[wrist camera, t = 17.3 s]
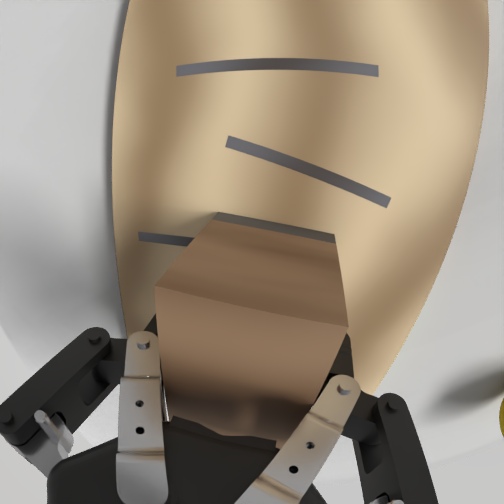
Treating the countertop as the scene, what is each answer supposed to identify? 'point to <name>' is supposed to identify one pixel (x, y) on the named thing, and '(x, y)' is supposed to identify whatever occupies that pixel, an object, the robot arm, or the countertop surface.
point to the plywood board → (301, 141)
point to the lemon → (502, 417)
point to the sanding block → (250, 325)
